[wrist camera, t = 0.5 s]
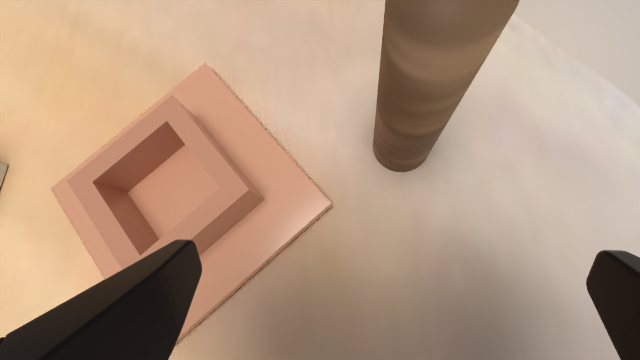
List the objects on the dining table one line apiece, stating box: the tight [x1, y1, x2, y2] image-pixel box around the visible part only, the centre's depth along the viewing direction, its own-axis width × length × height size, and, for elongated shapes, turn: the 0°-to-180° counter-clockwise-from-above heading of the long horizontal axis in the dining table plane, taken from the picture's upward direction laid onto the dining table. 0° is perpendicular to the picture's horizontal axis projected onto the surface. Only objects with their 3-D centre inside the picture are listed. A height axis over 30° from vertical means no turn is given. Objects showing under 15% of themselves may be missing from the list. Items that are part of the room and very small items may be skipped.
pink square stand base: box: [51, 63, 332, 344], centre depth 21 cm, size 14×14×4 cm
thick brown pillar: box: [373, 0, 519, 172], centre depth 15 cm, size 4×4×13 cm
